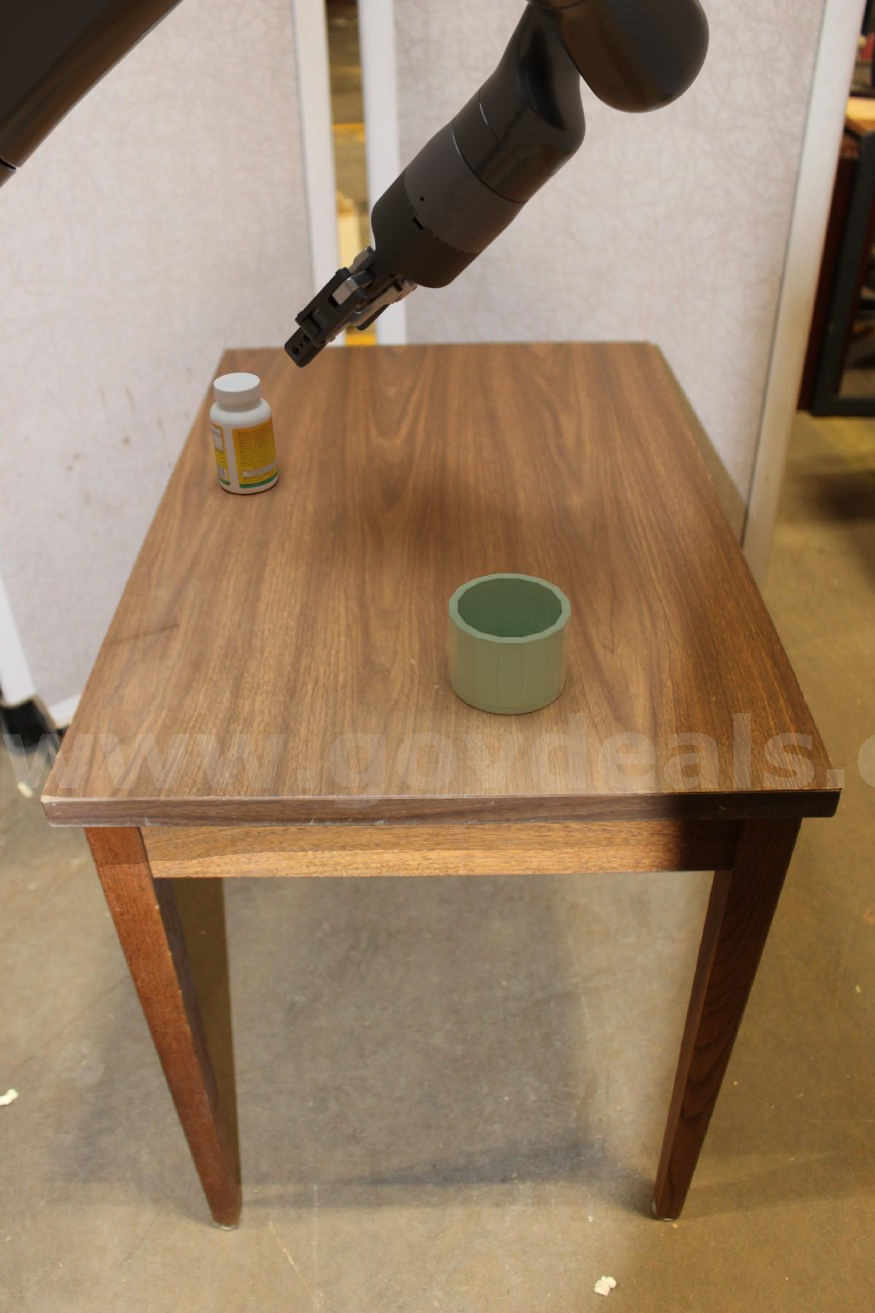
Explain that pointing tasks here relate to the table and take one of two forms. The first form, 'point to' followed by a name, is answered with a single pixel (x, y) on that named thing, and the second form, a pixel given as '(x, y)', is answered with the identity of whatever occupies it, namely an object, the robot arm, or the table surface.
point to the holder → (508, 642)
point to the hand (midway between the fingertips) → (325, 338)
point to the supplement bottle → (243, 435)
